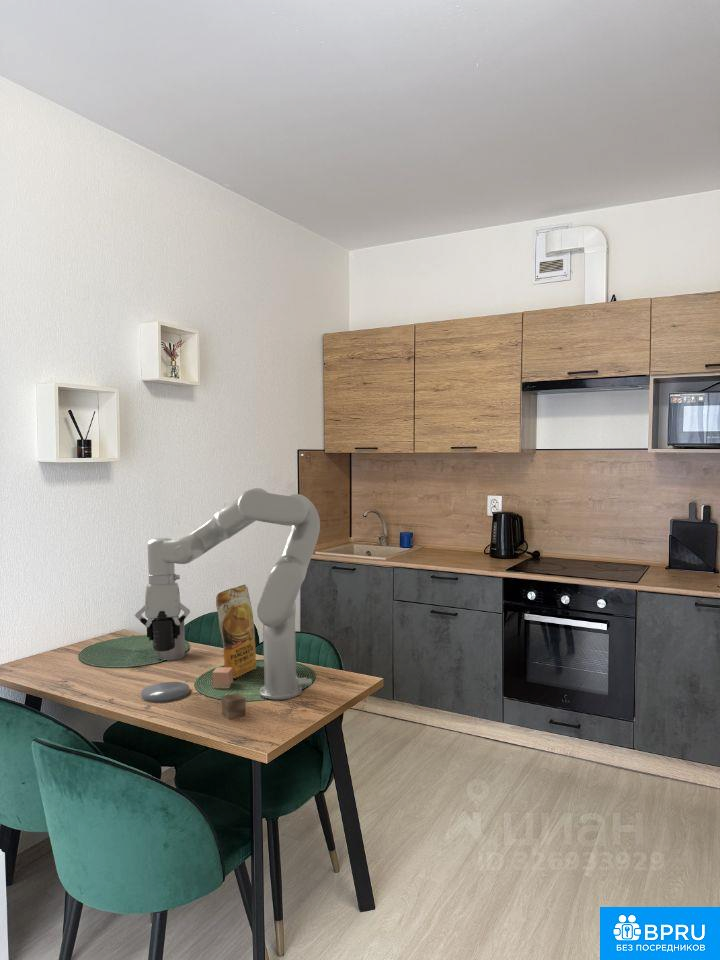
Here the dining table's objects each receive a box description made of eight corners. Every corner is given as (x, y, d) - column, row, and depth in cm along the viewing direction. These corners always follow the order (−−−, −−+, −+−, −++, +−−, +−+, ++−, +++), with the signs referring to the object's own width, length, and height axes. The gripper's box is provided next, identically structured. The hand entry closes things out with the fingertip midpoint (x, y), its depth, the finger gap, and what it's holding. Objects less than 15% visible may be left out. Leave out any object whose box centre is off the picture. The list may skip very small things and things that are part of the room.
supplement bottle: (167, 644, 210) (165, 605, 209) (180, 647, 205) (179, 608, 205) (147, 649, 204) (146, 609, 204) (160, 653, 200) (159, 612, 199)
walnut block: (239, 710, 191) (238, 692, 191) (245, 716, 187) (245, 698, 187) (222, 714, 189) (221, 696, 188) (228, 720, 184) (227, 702, 184)
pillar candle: (153, 656, 244) (151, 615, 243) (179, 651, 249) (178, 610, 249) (163, 663, 236) (161, 620, 235) (189, 657, 242) (188, 615, 241)
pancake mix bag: (211, 680, 217) (208, 593, 216) (248, 663, 233) (246, 582, 232) (227, 683, 214) (225, 594, 212) (264, 665, 230) (262, 583, 229)
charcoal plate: (190, 683, 214) (190, 680, 214) (188, 699, 200) (188, 695, 200) (143, 687, 211) (143, 683, 211) (138, 704, 197) (138, 700, 197)
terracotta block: (232, 683, 214) (232, 667, 214) (228, 688, 209) (228, 672, 209) (217, 682, 214) (216, 667, 214) (212, 688, 209) (212, 672, 209)
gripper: (192, 575, 209) (194, 633, 210) (133, 579, 206) (135, 637, 207) (191, 580, 202) (192, 639, 203) (129, 583, 199) (131, 644, 199)
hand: (163, 638), depth 205 cm, fingers closed on supplement bottle, 6 cm apart
